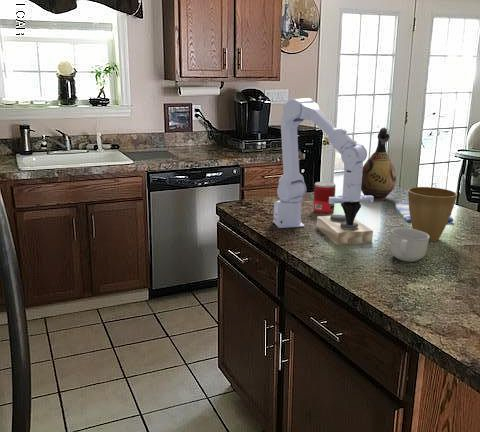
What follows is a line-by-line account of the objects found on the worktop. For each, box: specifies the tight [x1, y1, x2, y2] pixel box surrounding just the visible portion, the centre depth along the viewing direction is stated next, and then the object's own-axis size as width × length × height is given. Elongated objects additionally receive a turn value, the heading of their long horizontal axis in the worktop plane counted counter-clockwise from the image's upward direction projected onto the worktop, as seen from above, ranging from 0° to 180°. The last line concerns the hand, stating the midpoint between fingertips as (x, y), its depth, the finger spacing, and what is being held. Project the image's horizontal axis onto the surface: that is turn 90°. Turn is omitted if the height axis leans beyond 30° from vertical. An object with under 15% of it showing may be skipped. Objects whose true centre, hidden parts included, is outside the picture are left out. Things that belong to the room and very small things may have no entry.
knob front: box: [341, 222, 358, 230], centre depth 172 cm, size 6×6×4 cm
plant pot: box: [407, 186, 458, 243], centre depth 171 cm, size 15×15×16 cm
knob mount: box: [316, 214, 374, 246], centre depth 176 cm, size 12×19×4 cm, turn 12°
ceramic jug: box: [361, 127, 397, 202], centre depth 223 cm, size 17×15×30 cm
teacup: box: [389, 227, 430, 263], centre depth 153 cm, size 14×11×8 cm
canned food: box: [313, 181, 336, 215], centre depth 204 cm, size 8×8×11 cm
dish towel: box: [394, 201, 454, 225], centre depth 202 cm, size 17×24×3 cm
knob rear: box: [330, 214, 346, 222], centre depth 180 cm, size 6×6×4 cm
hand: (349, 224), depth 171 cm, fingers closed, pressing on knob front
